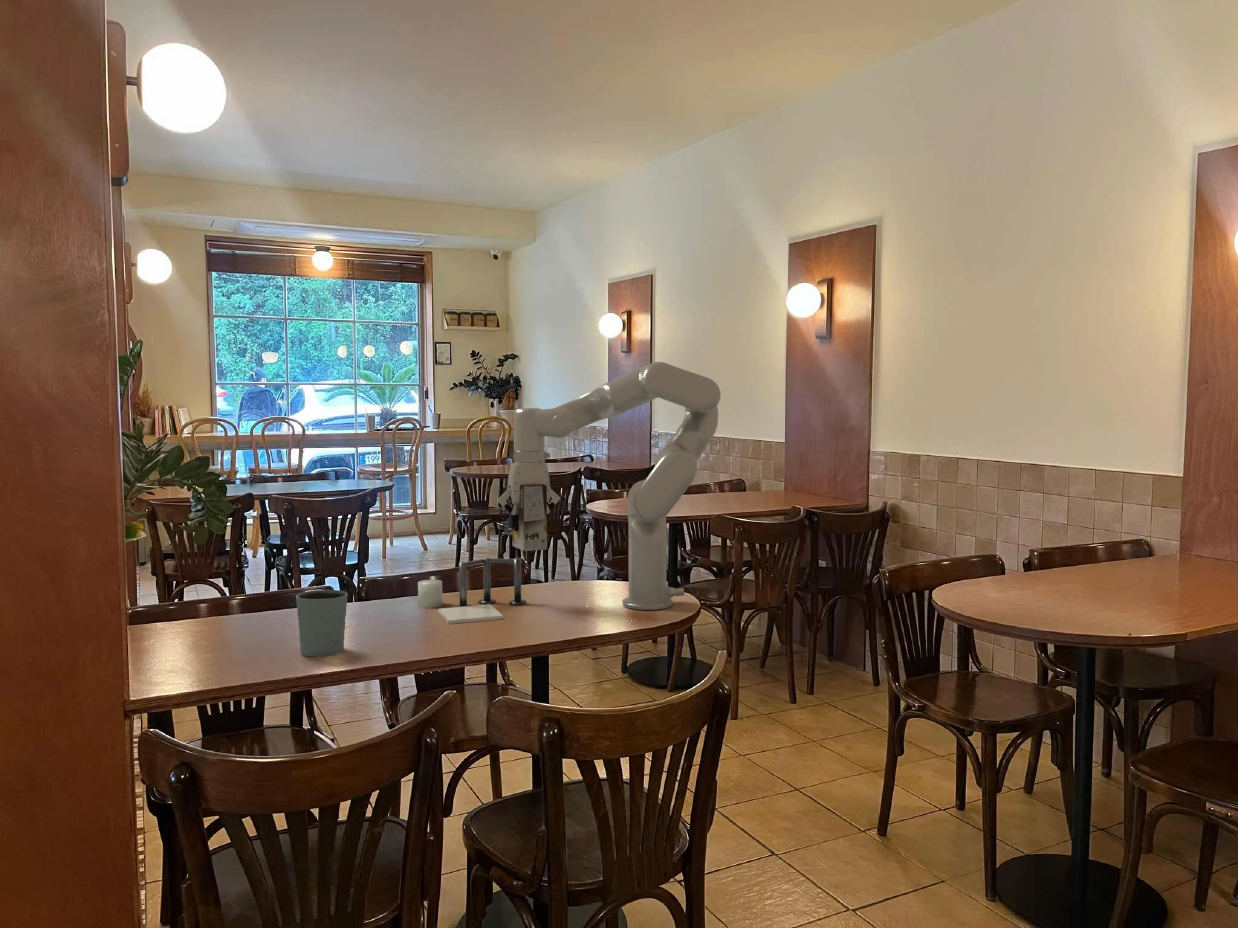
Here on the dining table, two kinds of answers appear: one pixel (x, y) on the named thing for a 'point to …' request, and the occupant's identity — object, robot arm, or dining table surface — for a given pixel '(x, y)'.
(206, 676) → the dining table surface
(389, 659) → the dining table surface
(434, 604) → the pale green pillar candle
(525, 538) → the coffee box
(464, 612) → the plate
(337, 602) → the green tapered pot
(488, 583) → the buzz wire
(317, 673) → the dining table surface
